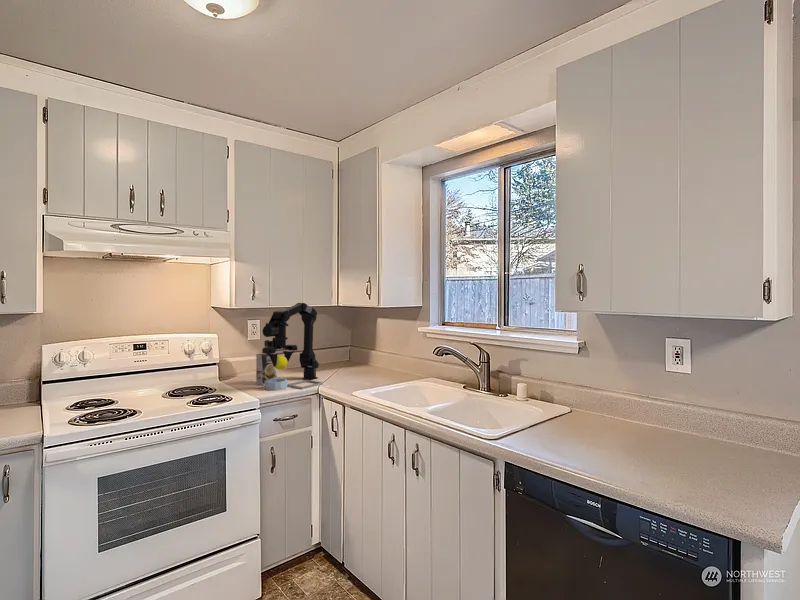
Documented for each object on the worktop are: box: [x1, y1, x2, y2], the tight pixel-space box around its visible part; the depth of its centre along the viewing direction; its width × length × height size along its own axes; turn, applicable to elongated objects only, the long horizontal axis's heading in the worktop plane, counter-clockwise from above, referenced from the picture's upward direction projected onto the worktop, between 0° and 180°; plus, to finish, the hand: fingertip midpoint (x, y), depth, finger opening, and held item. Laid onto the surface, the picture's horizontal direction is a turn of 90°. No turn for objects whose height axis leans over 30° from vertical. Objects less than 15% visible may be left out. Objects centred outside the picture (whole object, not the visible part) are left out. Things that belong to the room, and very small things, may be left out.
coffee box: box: [255, 353, 278, 386], centre depth 250 cm, size 9×6×16 cm
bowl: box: [264, 377, 288, 391], centre depth 238 cm, size 11×11×4 cm
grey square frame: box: [287, 379, 324, 390], centre depth 244 cm, size 15×13×1 cm
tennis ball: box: [275, 355, 289, 370], centre depth 238 cm, size 7×7×7 cm
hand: (280, 365), depth 238 cm, fingers closed on tennis ball, 7 cm apart
